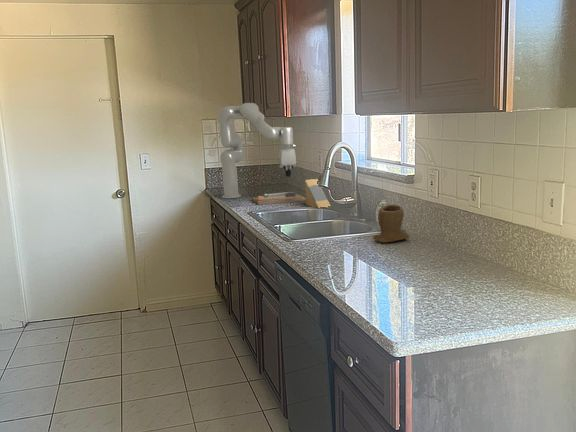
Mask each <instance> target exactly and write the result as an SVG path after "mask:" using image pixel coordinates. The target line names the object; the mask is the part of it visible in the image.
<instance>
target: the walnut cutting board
mask: <svg viewBox="0 0 576 432" xmlns="http://www.w3.org/2000/svg"><path fill="white" fill-rule="evenodd" d="M295 195H296V197H282V198H271V199H263V200H258V196H256V197H255V196H254V197H251V202H253V203H255V204H257V205H260V206H261V205H268V204H269V205H270V204H281V203H282V204H284V203H291V202H292V203H293V202H303V201H306V196H305V197H304V196H303V195H300V194H298V193H296V194H295ZM276 196H282V195H276ZM267 197H271V196H267Z"/></svg>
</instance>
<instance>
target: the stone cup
mask: <svg viewBox="0 0 576 432" xmlns="http://www.w3.org/2000/svg"><path fill="white" fill-rule="evenodd" d="M377 213H378V214H377V220H378V225H379V228H380V233H379V234H375V235H374V236H373V238H372V239H373V240H374V241H375V242H379V243H392V242H398V241H402V240H407V239H409V238H410V235H409V233H407V232H406V230H405V229H402V225H403V220H404V217H405V216H404V214H405V213H404V209H403V207H402V206H400V205H399V204H387V205H384V206H381V207H380V208H379V209H378V212H377Z"/></svg>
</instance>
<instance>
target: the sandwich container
mask: <svg viewBox="0 0 576 432" xmlns="http://www.w3.org/2000/svg"><path fill="white" fill-rule="evenodd" d="M317 181H319V179H318V178H312V179H305V181H304V182H305V183H304V186H305V201H306V203H305V205H306V206H309V207H311V206H313V207H312V208H316V207H318V208H317V209H321V208H320V207H326V208H329V207H328V206H331V204H330V202H329V199H328V198H327V196H326V194H325V192H324V190H323V188H322V186H321V187H319V186H318V184H317ZM331 207H332V206H331Z"/></svg>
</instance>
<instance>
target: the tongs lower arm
mask: <svg viewBox="0 0 576 432" xmlns="http://www.w3.org/2000/svg"><path fill="white" fill-rule="evenodd" d="M282 197H296V195H295V194H293V195H285V194H284V195H282V196H277V195H274V196H271V197H264V196H263V199H271V198H282Z"/></svg>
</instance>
